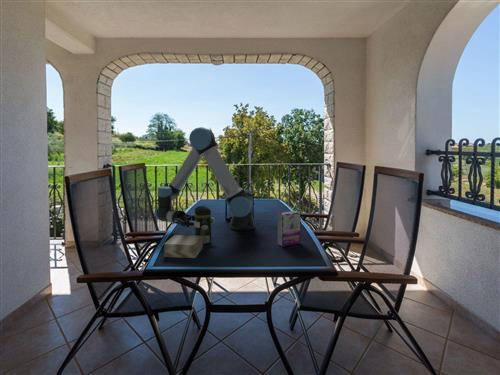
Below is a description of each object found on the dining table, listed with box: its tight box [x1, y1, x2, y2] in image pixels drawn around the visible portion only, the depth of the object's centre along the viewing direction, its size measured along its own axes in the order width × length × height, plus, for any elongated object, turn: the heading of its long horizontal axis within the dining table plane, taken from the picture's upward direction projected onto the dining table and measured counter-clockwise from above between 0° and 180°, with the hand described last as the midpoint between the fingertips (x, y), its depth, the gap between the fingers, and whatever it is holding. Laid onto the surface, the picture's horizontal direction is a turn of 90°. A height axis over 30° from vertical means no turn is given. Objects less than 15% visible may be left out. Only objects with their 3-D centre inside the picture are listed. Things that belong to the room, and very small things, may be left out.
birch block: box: [163, 234, 204, 259], centre depth 143 cm, size 14×14×6 cm
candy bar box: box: [277, 210, 302, 248], centre depth 155 cm, size 11×5×16 cm, turn 117°
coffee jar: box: [194, 205, 212, 245], centre depth 158 cm, size 10×8×19 cm
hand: (206, 222), depth 156 cm, fingers open, 10 cm apart
